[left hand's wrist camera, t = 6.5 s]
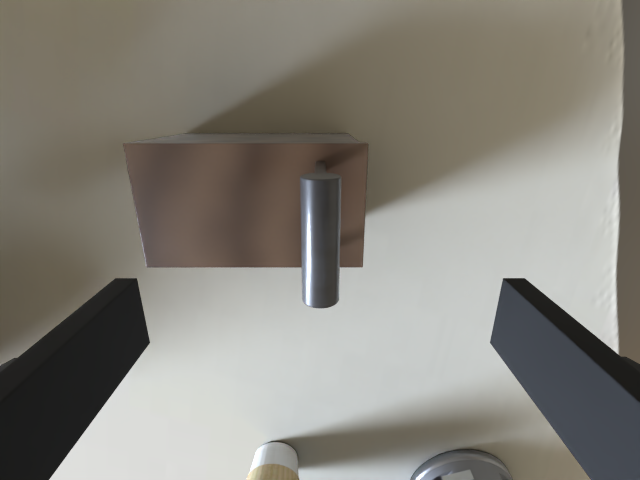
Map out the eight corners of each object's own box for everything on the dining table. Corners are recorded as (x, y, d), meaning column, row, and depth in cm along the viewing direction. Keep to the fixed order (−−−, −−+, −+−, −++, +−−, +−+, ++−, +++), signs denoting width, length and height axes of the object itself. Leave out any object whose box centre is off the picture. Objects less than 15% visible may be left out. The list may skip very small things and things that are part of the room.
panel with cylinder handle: (366, 142, 25) (390, 157, 17) (361, 262, 28) (378, 325, 20) (130, 142, 25) (35, 157, 17) (152, 262, 28) (81, 325, 20)
